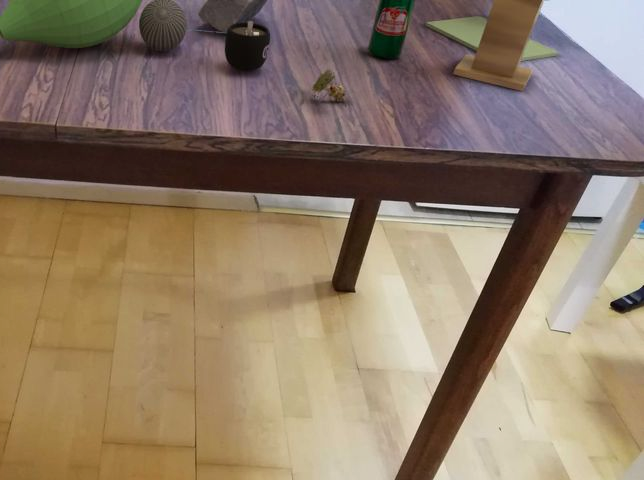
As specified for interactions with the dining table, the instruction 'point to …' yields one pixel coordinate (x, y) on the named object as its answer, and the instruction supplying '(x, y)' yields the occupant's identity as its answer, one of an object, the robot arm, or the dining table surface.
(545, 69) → the dining table surface
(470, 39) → the mat
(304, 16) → the dining table surface
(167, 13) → the lollipop
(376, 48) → the soda can
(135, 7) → the balloon
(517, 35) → the stand
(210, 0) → the rock
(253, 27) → the mug
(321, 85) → the soldier figurine
